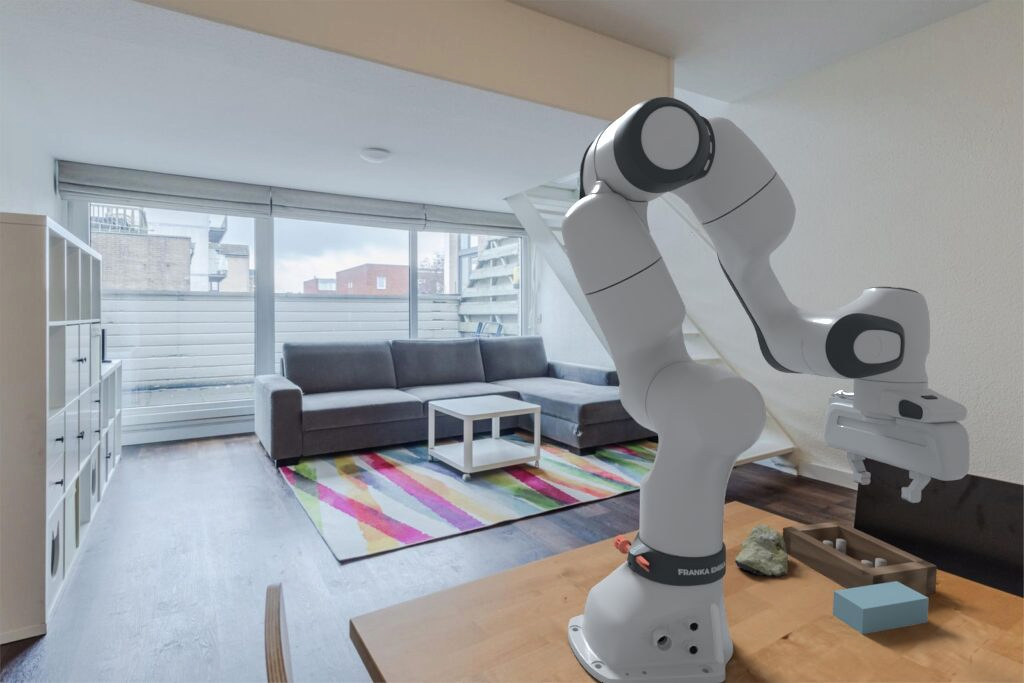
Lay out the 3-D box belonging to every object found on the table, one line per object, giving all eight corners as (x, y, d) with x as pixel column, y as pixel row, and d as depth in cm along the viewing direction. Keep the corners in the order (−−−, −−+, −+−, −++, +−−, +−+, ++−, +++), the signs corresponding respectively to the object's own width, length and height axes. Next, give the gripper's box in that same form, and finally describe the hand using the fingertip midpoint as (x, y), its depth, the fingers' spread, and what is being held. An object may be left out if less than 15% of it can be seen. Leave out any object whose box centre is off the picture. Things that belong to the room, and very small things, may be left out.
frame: (871, 603, 83) (873, 575, 83) (782, 550, 102) (783, 527, 102) (935, 592, 87) (936, 565, 86) (837, 543, 105) (838, 521, 105)
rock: (741, 583, 92) (803, 579, 90) (736, 547, 92) (797, 542, 90) (727, 556, 103) (782, 552, 101) (722, 524, 103) (777, 519, 101)
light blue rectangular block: (861, 636, 76) (863, 609, 75) (832, 616, 80) (833, 590, 80) (927, 624, 79) (928, 597, 78) (895, 605, 83) (896, 581, 83)
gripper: (814, 389, 87) (811, 472, 88) (943, 412, 67) (938, 519, 68) (845, 387, 88) (842, 469, 89) (980, 410, 69) (975, 515, 69)
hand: (885, 491), depth 78 cm, fingers open, 6 cm apart
